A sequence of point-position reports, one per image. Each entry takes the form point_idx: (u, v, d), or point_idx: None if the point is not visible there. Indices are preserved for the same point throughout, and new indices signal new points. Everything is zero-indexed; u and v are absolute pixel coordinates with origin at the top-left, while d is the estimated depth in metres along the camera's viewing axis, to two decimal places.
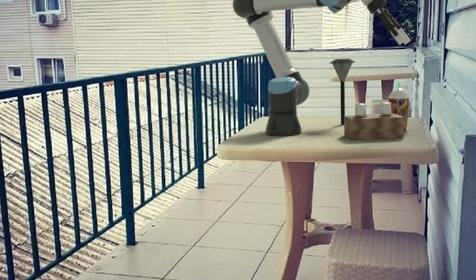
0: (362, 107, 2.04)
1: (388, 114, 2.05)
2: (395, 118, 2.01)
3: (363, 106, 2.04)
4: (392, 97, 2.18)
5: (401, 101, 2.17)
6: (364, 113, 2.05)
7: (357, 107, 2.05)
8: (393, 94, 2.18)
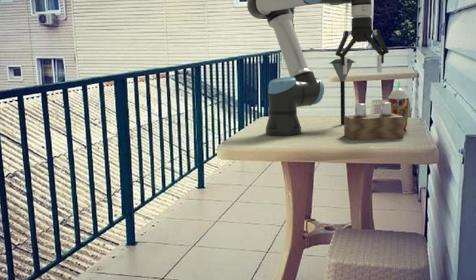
0: (362, 107, 2.04)
1: (388, 114, 2.05)
2: (395, 118, 2.01)
3: (363, 106, 2.04)
4: (392, 97, 2.18)
5: (401, 101, 2.17)
6: (364, 113, 2.05)
7: (357, 107, 2.05)
8: (393, 94, 2.18)
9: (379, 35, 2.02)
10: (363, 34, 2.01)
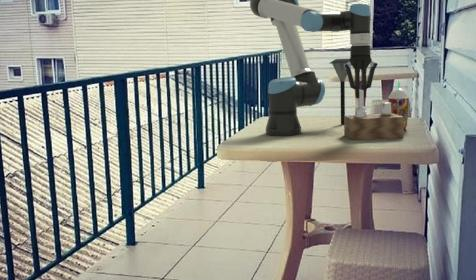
0: (362, 110, 2.04)
1: (388, 114, 2.05)
2: (395, 118, 2.01)
3: (363, 109, 2.04)
4: (392, 97, 2.18)
5: (401, 101, 2.17)
6: (364, 116, 2.05)
7: (357, 110, 2.05)
8: (393, 94, 2.18)
9: (373, 68, 2.03)
10: (362, 60, 2.02)
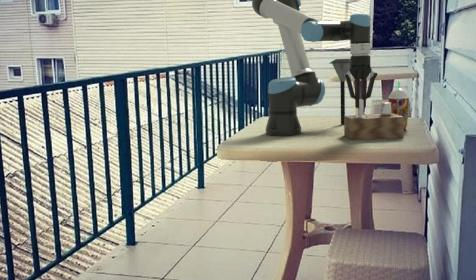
0: None
1: (388, 114, 2.05)
2: (395, 118, 2.01)
3: None
4: (392, 97, 2.18)
5: (401, 101, 2.17)
6: None
7: None
8: (393, 94, 2.18)
9: (373, 78, 2.03)
10: (362, 70, 2.03)
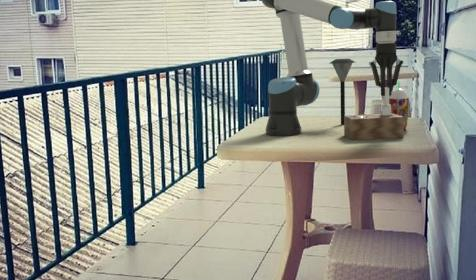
0: None
1: None
2: (395, 118, 2.01)
3: None
4: (392, 97, 2.18)
5: (401, 101, 2.17)
6: None
7: None
8: (393, 94, 2.18)
9: (399, 66, 2.03)
10: (388, 58, 2.02)
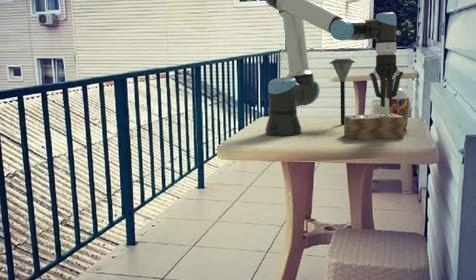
0: None
1: None
2: (395, 118, 2.01)
3: None
4: (392, 97, 2.18)
5: (401, 101, 2.17)
6: None
7: None
8: None
9: (399, 77, 2.04)
10: (388, 69, 2.03)
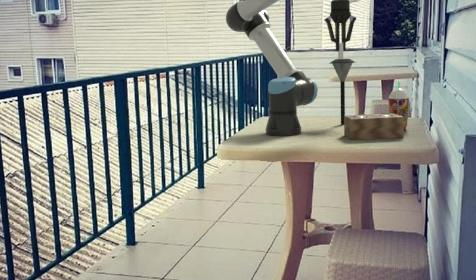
0: None
1: None
2: (395, 118, 2.01)
3: None
4: (392, 97, 2.18)
5: (401, 101, 2.17)
6: None
7: None
8: (393, 94, 2.18)
9: (352, 22, 2.14)
10: (342, 14, 2.14)
